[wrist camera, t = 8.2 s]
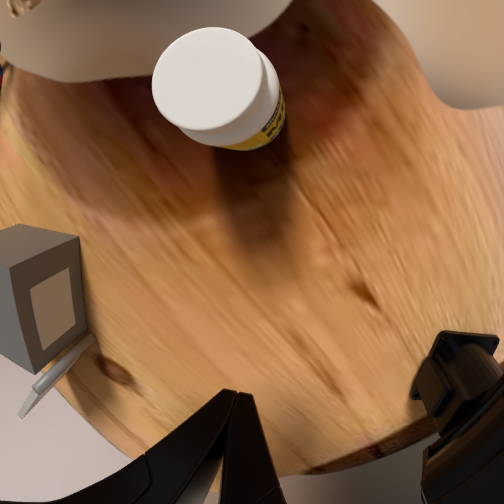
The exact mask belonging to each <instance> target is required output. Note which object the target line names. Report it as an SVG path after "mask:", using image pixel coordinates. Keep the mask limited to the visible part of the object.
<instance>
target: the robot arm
mask: <svg viewBox="0 0 504 504" xmlns="http://www.w3.org/2000/svg"><path fill="white" fill-rule="evenodd" d="M444 336H446V337H445V338H444V339H442V338H443V337H444ZM498 344H499V338H498V336H497V335H490V334H478V333H467V332H456V331H447V330H444V331H441V332H440V333H439V334H438V336H437V339H436V341H435V343H434V345H433V348H432V350H431V352H430V354H429V356H428V357H427V359H426V361H425V363H424V365H423V367H422V369H421V372H420V374H419V376H418V377H417V379H416V382H415V385H414V387H413V389H412V390H411V392H410V395H411V398H412V399H413V400H422V401H423V403H424V406H425V408H426V411H427V414H428V416H429V418H433V419H434V422H435V425H436V427H437V430H438V433H439V435H440V436H442V437H440V438H439V439H438V440H437V441H436V442H435V443H433V444H432V445H431V446H428V447H427V448H426V449H424V450H423V467H422V480H421V498H422V501H423V503H424V504H504V371H503V369H502V368H501V367H500V365H499V364H498V362H497V361H496V360H495V359H494V357H493V354H494V352H495V350H496V348H497V346H498ZM416 393H417V394H416ZM223 456H224V457H223ZM222 459H223V464H222V473H221V482H220V491H219V501H218V504H287V503H286V501H285V498H284V495H283V492H282V489H281V487H280V483H279V480H278V477H277V474H276V470H275V467H274V464H273V461H272V457H271V454H270V451H269V448H268V444H267V441H266V438H265V434H264V431H263V428H262V424H261V421H260V418H259V414H258V411H257V407H256V404H255V400H254V397H253V395H252V394H249V393H244V392H239V393H237V391H234V390H230V389H222V390H221V391H220V392H219V393H218V394H216V395H215V396H214V397H213V398H212V399H211V400H209V401H208V402H207V403H206V404H205V405H204V406H202V407H201V408H200V409H199V410H198V411H196V412H195V413H194V414H193V415H192V416H190V417H189V418H188V419H187V420H185V421H184V422H183V423H182V424H181V425H179V426H178V427H177V428H176V429H174V430H173V431H172V432H171V433H169V434H168V435H167V436H166V437H164V438H163V439H162V440H160V441H159V442H158V443H157V444H155V445H154V446H153V447H151V448H150V449H149V450H147V451H146V452H145V455H144V454H142V455H141V456H139V457H138V458H137V459H135V460H134V461H132V462H131V463H130V464H128V465H127V466H125V467H124V468H122V469H121V470H119V471H117V472H116V473H114V474H112V475H110V476H109V477H106V478H105V479H103V480H101V481H99V482H97V483H95V484H93V485H91V486H89V487H86V488H84V489H82V490H80V491H78V492H76V493H73V494H71V495H69V496H67V497H64V498H61V499H58V500H54V501H50V502H13V501H0V504H203V503H204V501H205V498H206V496H207V494H208V492H209V490H210V487H211V485H212V483H213V481H214V478H215V476H216V474H217V471H218V469H219V467H220V464H221V462H222Z"/></svg>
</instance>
